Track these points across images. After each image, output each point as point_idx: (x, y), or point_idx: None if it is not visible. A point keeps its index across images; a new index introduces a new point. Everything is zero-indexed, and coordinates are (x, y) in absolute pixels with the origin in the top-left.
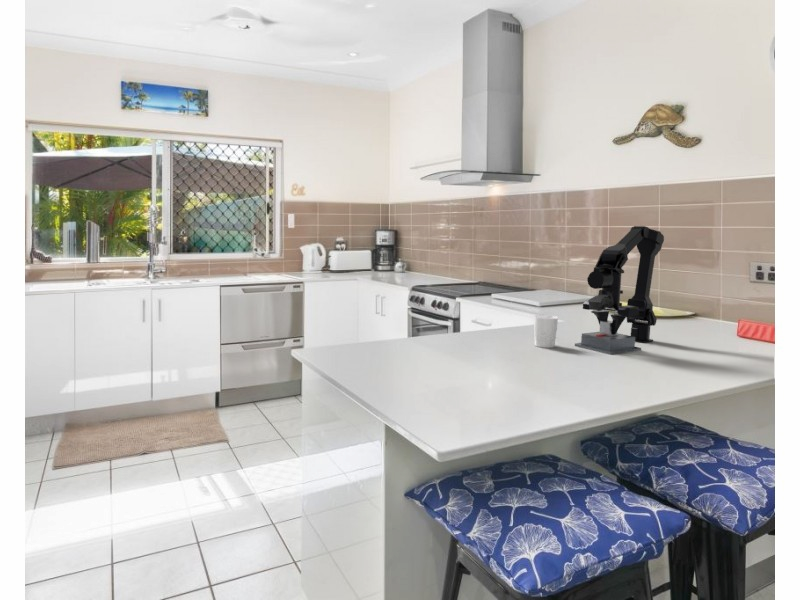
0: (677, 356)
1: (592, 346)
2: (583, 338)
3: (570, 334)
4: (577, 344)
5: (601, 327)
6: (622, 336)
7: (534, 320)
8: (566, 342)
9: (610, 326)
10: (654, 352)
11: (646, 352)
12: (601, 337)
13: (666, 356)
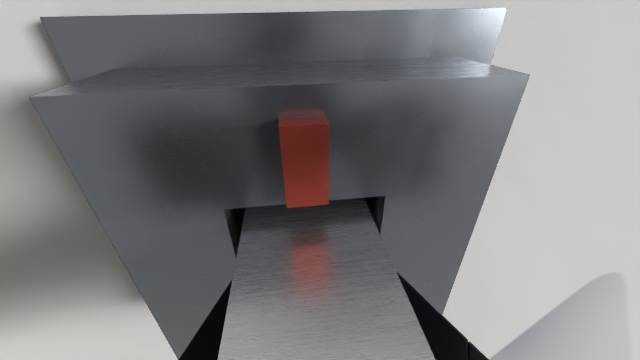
0: (15, 351)
1: (326, 61)
2: (465, 66)
3: (635, 253)
4: (471, 9)
5: (369, 277)
6: None
7: None
8: (597, 61)
9: (226, 338)
10: (126, 323)
11: (130, 296)
12: (223, 109)
13: (10, 317)
